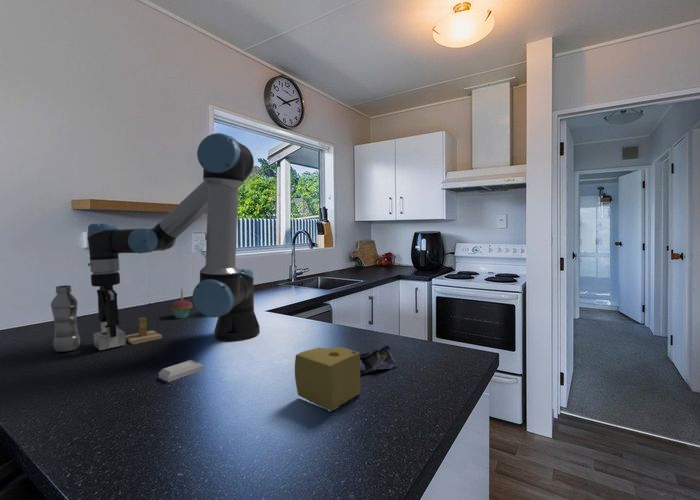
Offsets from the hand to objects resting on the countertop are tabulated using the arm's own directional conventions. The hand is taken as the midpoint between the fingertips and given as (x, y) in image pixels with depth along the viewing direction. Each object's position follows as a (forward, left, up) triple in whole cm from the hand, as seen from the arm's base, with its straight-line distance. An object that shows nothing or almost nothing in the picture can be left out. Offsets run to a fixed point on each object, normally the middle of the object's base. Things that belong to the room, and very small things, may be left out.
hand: (110, 344), depth 114 cm
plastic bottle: (+5, +10, -1) cm, 11 cm away
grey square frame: (0, 0, 0) cm, 0 cm away
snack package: (-73, -43, -1) cm, 85 cm away
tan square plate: (+1, -10, -1) cm, 10 cm away
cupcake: (+22, -31, -1) cm, 38 cm away
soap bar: (-40, -7, -1) cm, 41 cm away
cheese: (-77, -24, -1) cm, 80 cm away
